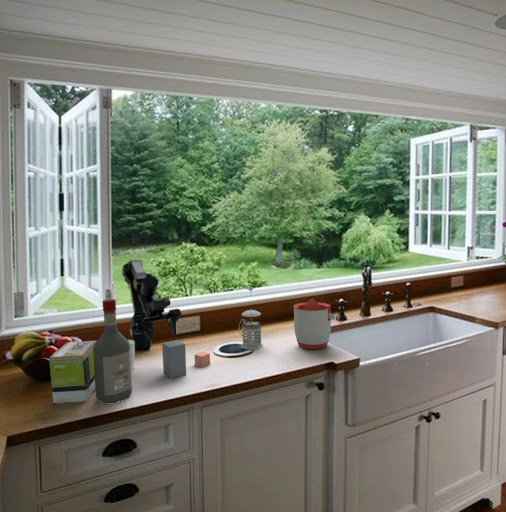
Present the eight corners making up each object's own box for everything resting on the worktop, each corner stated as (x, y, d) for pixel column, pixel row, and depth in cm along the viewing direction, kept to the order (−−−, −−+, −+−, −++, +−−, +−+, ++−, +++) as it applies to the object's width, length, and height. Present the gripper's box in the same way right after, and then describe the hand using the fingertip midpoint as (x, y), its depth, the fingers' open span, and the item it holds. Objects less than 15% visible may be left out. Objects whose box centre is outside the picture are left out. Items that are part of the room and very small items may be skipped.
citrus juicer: (333, 353, 163) (332, 303, 162) (290, 350, 169) (289, 301, 167) (338, 342, 178) (337, 295, 176) (298, 339, 184) (297, 294, 182)
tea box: (69, 384, 138) (66, 341, 137) (100, 382, 139) (98, 339, 138) (51, 404, 123) (48, 355, 122) (86, 402, 124) (83, 354, 123)
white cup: (140, 367, 153) (139, 340, 153) (127, 374, 146) (125, 346, 145) (122, 365, 156) (120, 338, 155) (108, 372, 149) (107, 345, 148)
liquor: (135, 395, 128) (131, 299, 125) (109, 406, 121) (103, 304, 118) (119, 388, 134) (114, 296, 131) (92, 398, 127) (86, 301, 124)
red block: (194, 364, 155) (194, 354, 154) (202, 361, 158) (202, 351, 157) (202, 367, 152) (201, 356, 152) (210, 364, 155) (209, 353, 155)
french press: (268, 345, 176) (267, 286, 174) (249, 352, 167) (248, 290, 165) (251, 341, 183) (250, 284, 180) (232, 347, 174) (230, 288, 172)
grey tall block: (163, 374, 146) (162, 343, 145) (178, 370, 149) (177, 340, 148) (171, 378, 141) (169, 347, 140) (186, 374, 145) (185, 343, 144)
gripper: (130, 293, 147) (145, 330, 139) (178, 287, 159) (193, 321, 151) (123, 312, 154) (136, 348, 146) (169, 304, 165) (184, 337, 158)
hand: (163, 338), depth 150 cm, fingers open, 9 cm apart
